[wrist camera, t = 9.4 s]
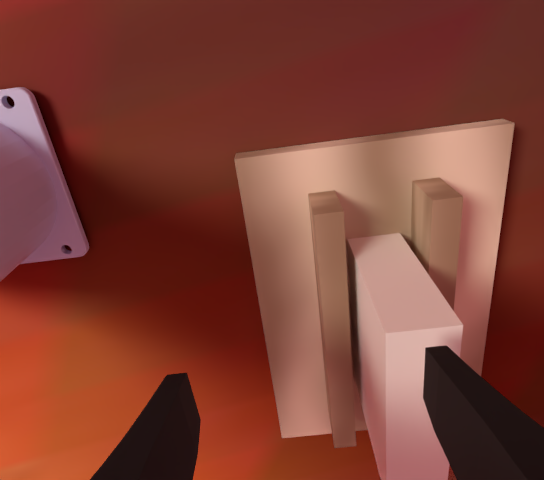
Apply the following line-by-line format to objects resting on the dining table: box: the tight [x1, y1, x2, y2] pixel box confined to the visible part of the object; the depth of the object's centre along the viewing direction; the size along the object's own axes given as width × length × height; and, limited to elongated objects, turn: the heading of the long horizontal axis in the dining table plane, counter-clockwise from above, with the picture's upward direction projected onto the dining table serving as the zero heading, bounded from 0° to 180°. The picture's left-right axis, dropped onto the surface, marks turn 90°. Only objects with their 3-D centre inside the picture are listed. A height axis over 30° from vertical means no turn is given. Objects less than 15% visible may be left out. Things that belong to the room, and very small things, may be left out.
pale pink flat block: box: [347, 233, 463, 480], centre depth 18 cm, size 3×9×7 cm, turn 7°
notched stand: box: [234, 119, 515, 448], centre depth 21 cm, size 12×18×4 cm, turn 7°
